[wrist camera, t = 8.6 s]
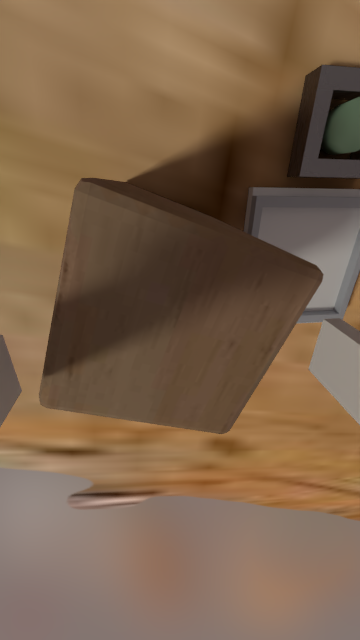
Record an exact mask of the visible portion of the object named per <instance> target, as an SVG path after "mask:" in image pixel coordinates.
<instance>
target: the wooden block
mask: <svg viewBox="0 0 360 640" xmlns="http://www.w3.org/2000/svg"><path fill="white" fill-rule="evenodd" d="M323 275H324V274H323V273H322V271H321V270H320V269H319V268H318V266H317V265H315V264H313V263H310V262H308V261H306V260H304V259H302V258H300V257H297V256H295V255H293V254H291V253H289V252H287V251H284V250H282V249H280V248H278V247H276V246H274V245H271V244H269V243H267V242H265V241H263V240H261V239H259V238H256V237H254V236H252V235H250V234H248V233H246V232H243V231H241V230H239V229H237V228H235V227H233V226H230V225H228V224H226V223H224V222H222V221H220V220H218V219H215V218H213V217H211V216H209V215H206V214H204V213H201V212H199V211H196V210H194V209H191V208H189V207H186V206H184V205H181V204H179V203H176V202H174V201H171V200H169V199H166V198H164V197H161V196H159V195H156V194H154V193H151V192H149V191H147V190H144V189H142V188H139V187H137V186H134V185H132V184H129V183H127V182H120V181H113V180H105V179H98V178H82V179H81V180H80V181H79V183H78V184H77V186H76V187H75V190H74V196H73V201H72V207H71V213H70V219H69V225H68V230H67V236H66V242H65V248H64V253H63V259H62V265H61V271H60V276H59V282H58V288H57V294H56V299H55V305H54V311H53V317H52V323H51V328H50V334H49V340H48V346H47V351H46V357H45V363H44V369H43V374H42V380H41V386H40V392H39V399H40V404H41V405H42V406H44V407H46V408H50V409H57V410H64V411H70V412H77V413H84V414H91V415H97V416H104V417H111V418H117V419H124V420H131V421H137V422H144V423H151V424H157V425H164V426H171V427H178V428H184V429H191V430H198V431H204V432H211V433H218V434H224V433H227V432H228V431H230V429H231V427H232V426H233V424H234V423H235V421H236V419H237V418H238V416H239V415H240V413H241V411H242V410H243V408H244V407H245V405H246V403H247V402H248V400H249V398H250V397H251V395H252V394H253V392H254V390H255V389H256V387H257V386H258V384H259V382H260V381H261V379H262V378H263V376H264V374H265V373H266V371H267V370H268V368H269V366H270V365H271V363H272V361H273V360H274V358H275V357H276V355H277V353H278V352H279V350H280V349H281V347H282V345H283V344H284V342H285V341H286V339H287V337H288V336H289V334H290V332H291V331H292V329H293V328H294V326H295V324H296V323H297V321H298V320H299V318H300V316H301V315H302V313H303V312H304V310H305V308H306V307H307V305H308V304H309V302H310V300H311V299H312V297H313V295H314V294H315V292H316V291H317V289H318V287H319V286H320V284H321V283H322V280H323Z"/></svg>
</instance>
